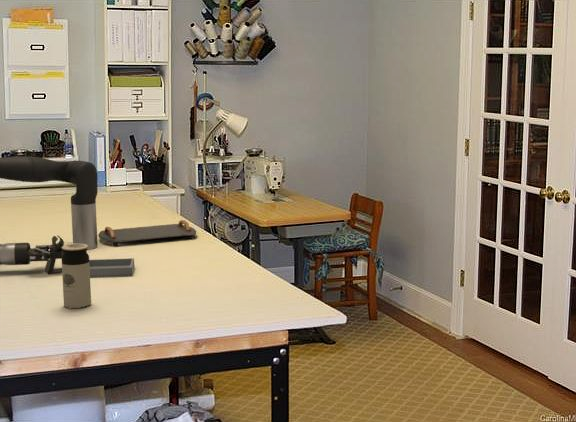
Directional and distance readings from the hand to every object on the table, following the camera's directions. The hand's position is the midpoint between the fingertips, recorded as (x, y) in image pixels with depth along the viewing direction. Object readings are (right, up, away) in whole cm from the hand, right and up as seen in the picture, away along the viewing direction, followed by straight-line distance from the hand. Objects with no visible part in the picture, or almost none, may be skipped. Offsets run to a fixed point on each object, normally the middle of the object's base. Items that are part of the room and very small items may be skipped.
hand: (63, 252), depth 316 cm
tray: (+16, -7, -1) cm, 17 cm away
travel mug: (+14, -14, -41) cm, 45 cm away
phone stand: (-2, -7, +1) cm, 7 cm away
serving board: (+20, +3, +55) cm, 58 cm away
